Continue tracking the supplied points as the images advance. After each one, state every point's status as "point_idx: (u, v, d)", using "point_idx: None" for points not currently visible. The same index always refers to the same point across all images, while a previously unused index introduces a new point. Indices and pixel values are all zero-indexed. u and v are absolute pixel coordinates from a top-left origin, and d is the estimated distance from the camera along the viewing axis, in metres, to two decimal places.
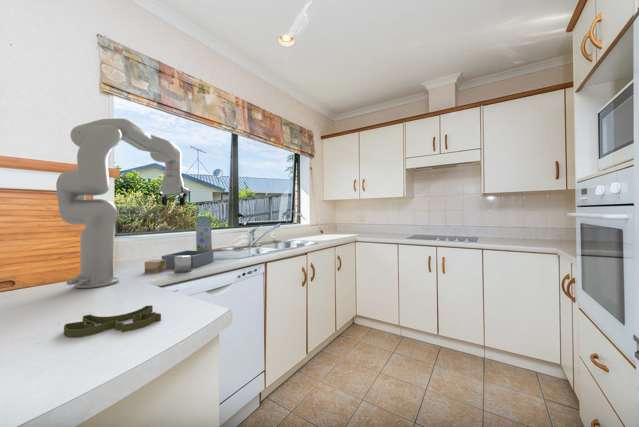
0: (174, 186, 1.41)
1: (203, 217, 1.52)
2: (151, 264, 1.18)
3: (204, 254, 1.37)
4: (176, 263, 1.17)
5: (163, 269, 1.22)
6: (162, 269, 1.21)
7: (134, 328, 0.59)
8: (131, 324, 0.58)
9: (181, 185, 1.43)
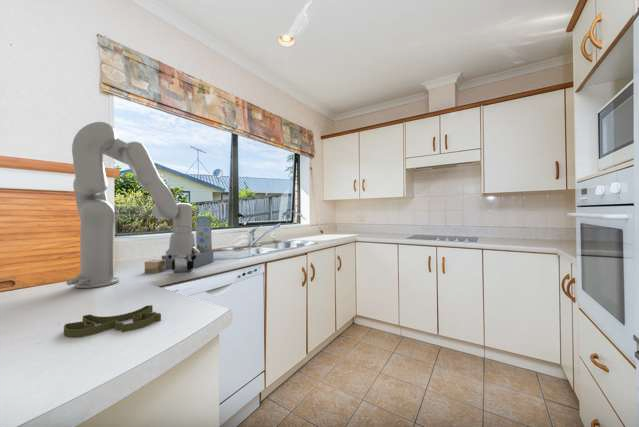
0: (184, 246, 1.17)
1: (203, 216, 1.52)
2: (151, 264, 1.18)
3: (204, 254, 1.37)
4: (176, 263, 1.17)
5: (163, 269, 1.22)
6: (162, 269, 1.21)
7: (134, 328, 0.59)
8: (131, 324, 0.58)
9: (192, 244, 1.19)
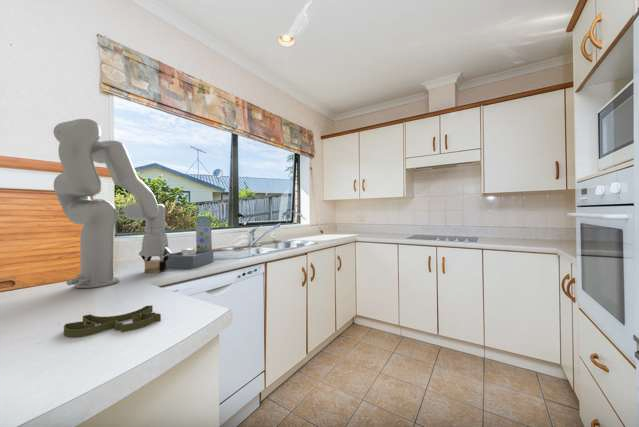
0: (156, 247, 1.18)
1: (203, 216, 1.52)
2: (151, 264, 1.18)
3: (204, 254, 1.37)
4: None
5: None
6: None
7: (134, 328, 0.59)
8: (131, 324, 0.58)
9: (165, 245, 1.20)
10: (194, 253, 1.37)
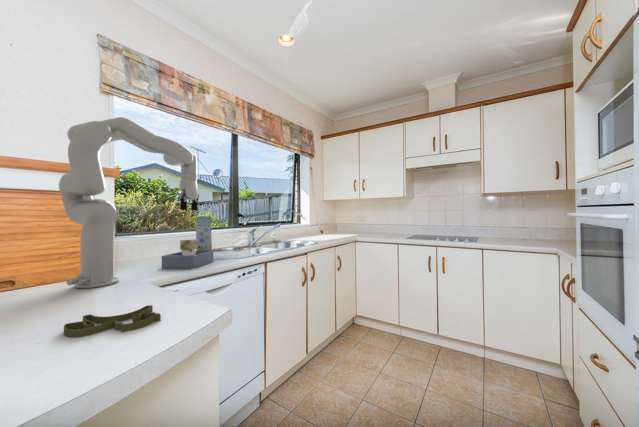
0: None
1: (203, 217, 1.52)
2: None
3: (204, 254, 1.37)
4: None
5: (188, 248, 1.35)
6: (186, 248, 1.35)
7: (133, 328, 0.59)
8: (130, 324, 0.58)
9: (182, 188, 1.33)
10: (194, 253, 1.37)
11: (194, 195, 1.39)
